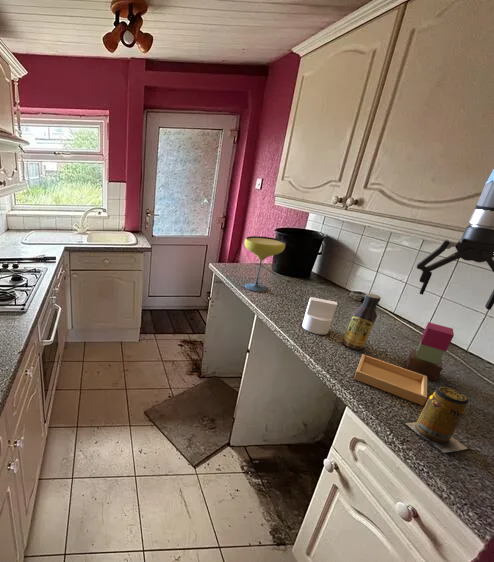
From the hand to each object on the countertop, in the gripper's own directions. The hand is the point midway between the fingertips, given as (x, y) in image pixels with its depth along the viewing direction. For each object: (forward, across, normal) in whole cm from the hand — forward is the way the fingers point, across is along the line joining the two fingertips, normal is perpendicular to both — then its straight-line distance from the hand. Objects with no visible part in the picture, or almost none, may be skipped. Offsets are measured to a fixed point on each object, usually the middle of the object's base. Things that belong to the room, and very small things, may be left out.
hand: (452, 300), depth 89 cm
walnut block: (+25, 0, 0) cm, 25 cm away
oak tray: (+25, +7, +14) cm, 29 cm away
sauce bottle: (+25, +18, -2) cm, 31 cm away
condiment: (+25, -3, +32) cm, 41 cm away
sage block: (+20, 0, 0) cm, 20 cm away
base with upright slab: (+25, +31, -6) cm, 40 cm away
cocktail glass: (+25, +64, -31) cm, 75 cm away
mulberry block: (+15, 0, 0) cm, 15 cm away
